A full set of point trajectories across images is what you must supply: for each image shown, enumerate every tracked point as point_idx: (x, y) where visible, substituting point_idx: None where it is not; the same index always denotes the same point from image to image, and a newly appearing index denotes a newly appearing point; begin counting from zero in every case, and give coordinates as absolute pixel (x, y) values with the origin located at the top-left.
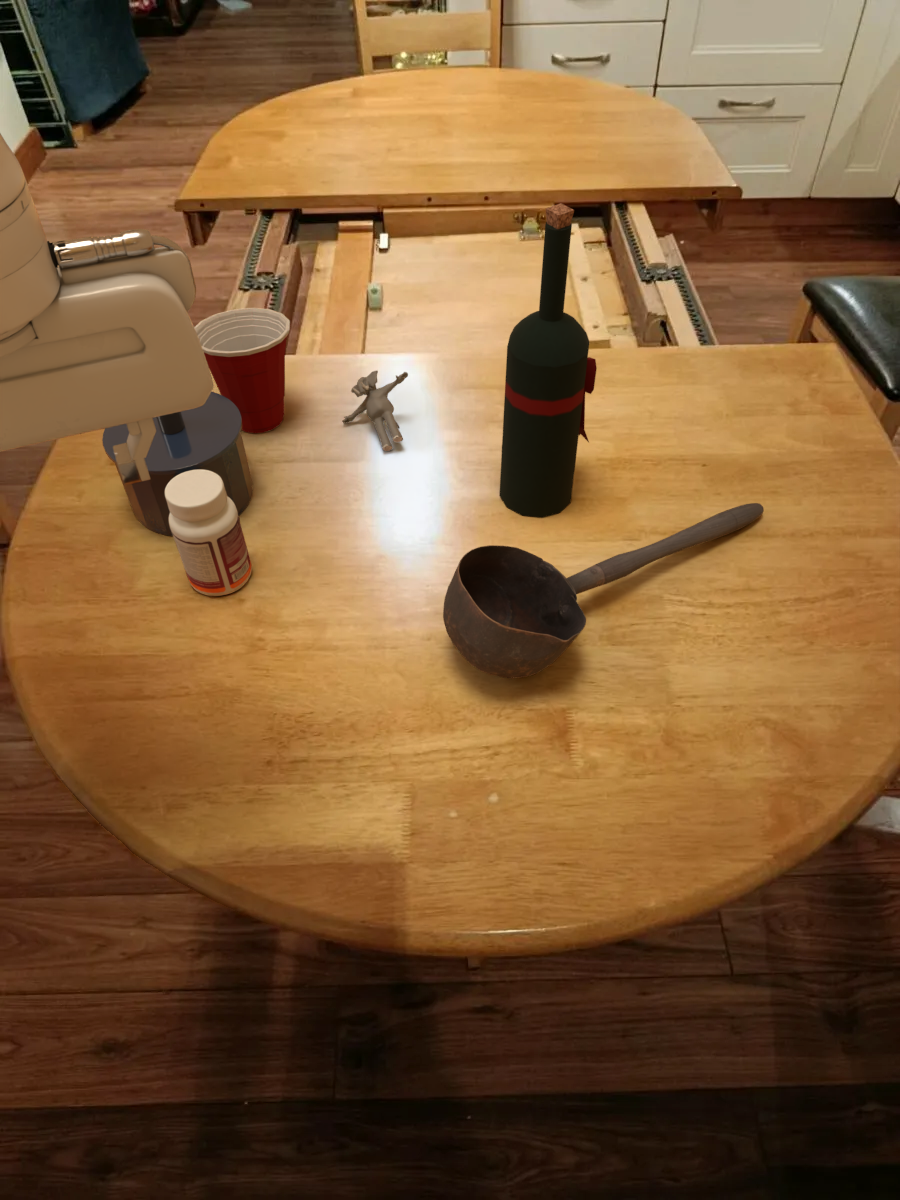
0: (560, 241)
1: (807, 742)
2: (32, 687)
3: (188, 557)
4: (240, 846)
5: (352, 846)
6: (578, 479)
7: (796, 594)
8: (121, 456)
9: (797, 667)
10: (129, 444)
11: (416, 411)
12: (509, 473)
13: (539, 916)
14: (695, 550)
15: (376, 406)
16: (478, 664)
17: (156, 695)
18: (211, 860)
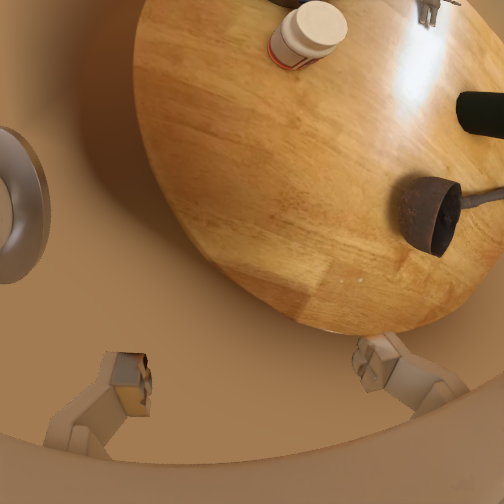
0: None
1: (452, 295)
2: (139, 96)
3: (282, 50)
4: (241, 261)
5: (293, 280)
6: None
7: (493, 235)
8: (378, 379)
9: (472, 266)
10: (399, 371)
11: (441, 9)
12: (475, 113)
13: (343, 329)
14: None
15: (433, 2)
16: (402, 233)
17: (218, 134)
18: (224, 262)
